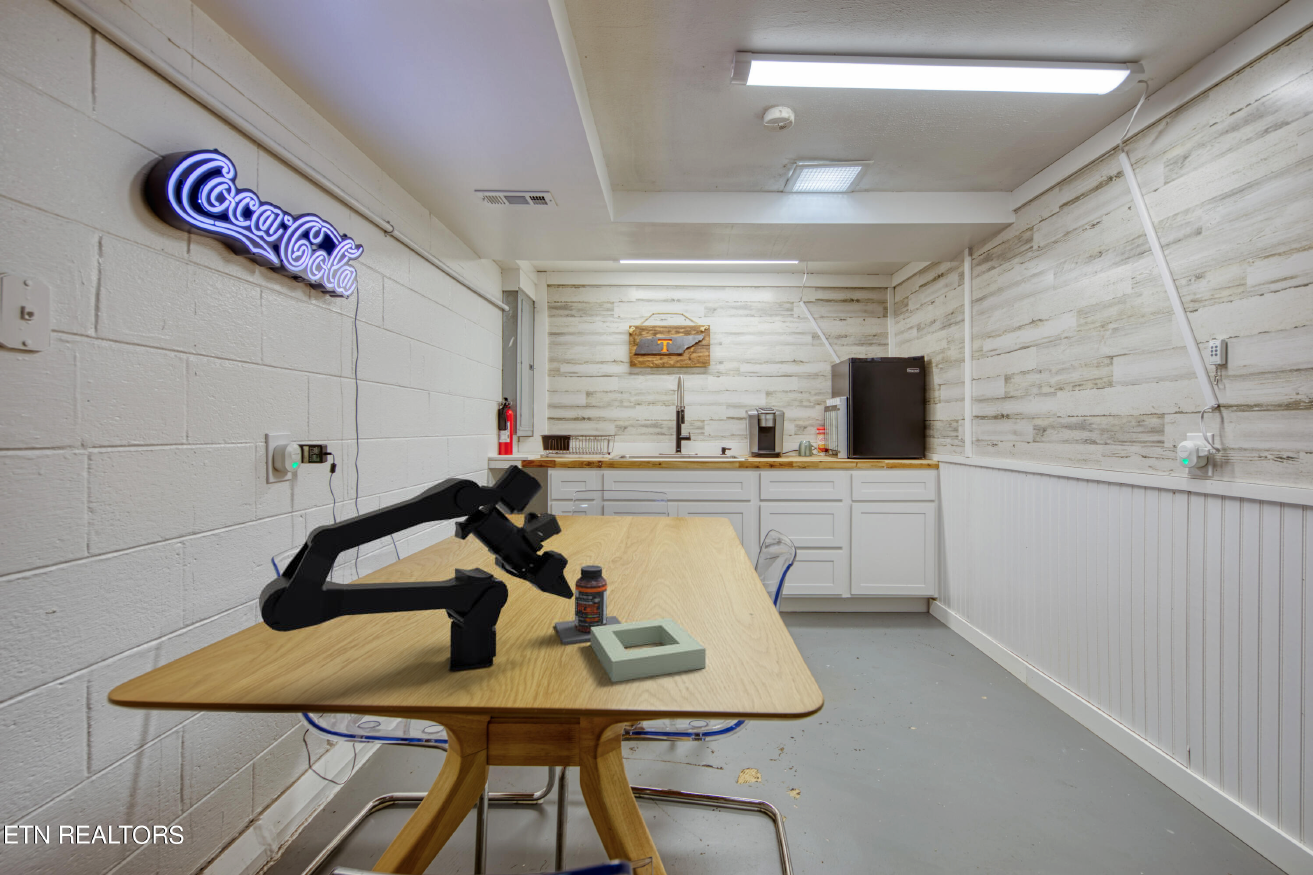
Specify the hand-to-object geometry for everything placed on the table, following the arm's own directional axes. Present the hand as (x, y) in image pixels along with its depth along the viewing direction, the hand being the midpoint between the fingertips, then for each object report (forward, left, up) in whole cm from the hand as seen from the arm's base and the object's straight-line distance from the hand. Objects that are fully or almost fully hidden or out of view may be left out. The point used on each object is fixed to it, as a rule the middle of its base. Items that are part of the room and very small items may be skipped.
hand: (559, 590), depth 91 cm
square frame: (+12, -12, -9) cm, 19 cm away
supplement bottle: (+6, +2, -8) cm, 10 cm away
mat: (+6, +2, -9) cm, 11 cm away
